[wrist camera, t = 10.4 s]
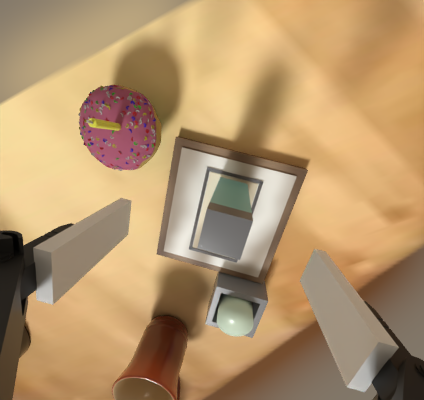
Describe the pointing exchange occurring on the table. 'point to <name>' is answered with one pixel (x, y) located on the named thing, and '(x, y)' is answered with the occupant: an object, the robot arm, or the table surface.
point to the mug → (155, 363)
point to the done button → (234, 315)
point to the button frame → (240, 290)
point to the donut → (119, 127)
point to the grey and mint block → (227, 219)
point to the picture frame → (202, 193)
